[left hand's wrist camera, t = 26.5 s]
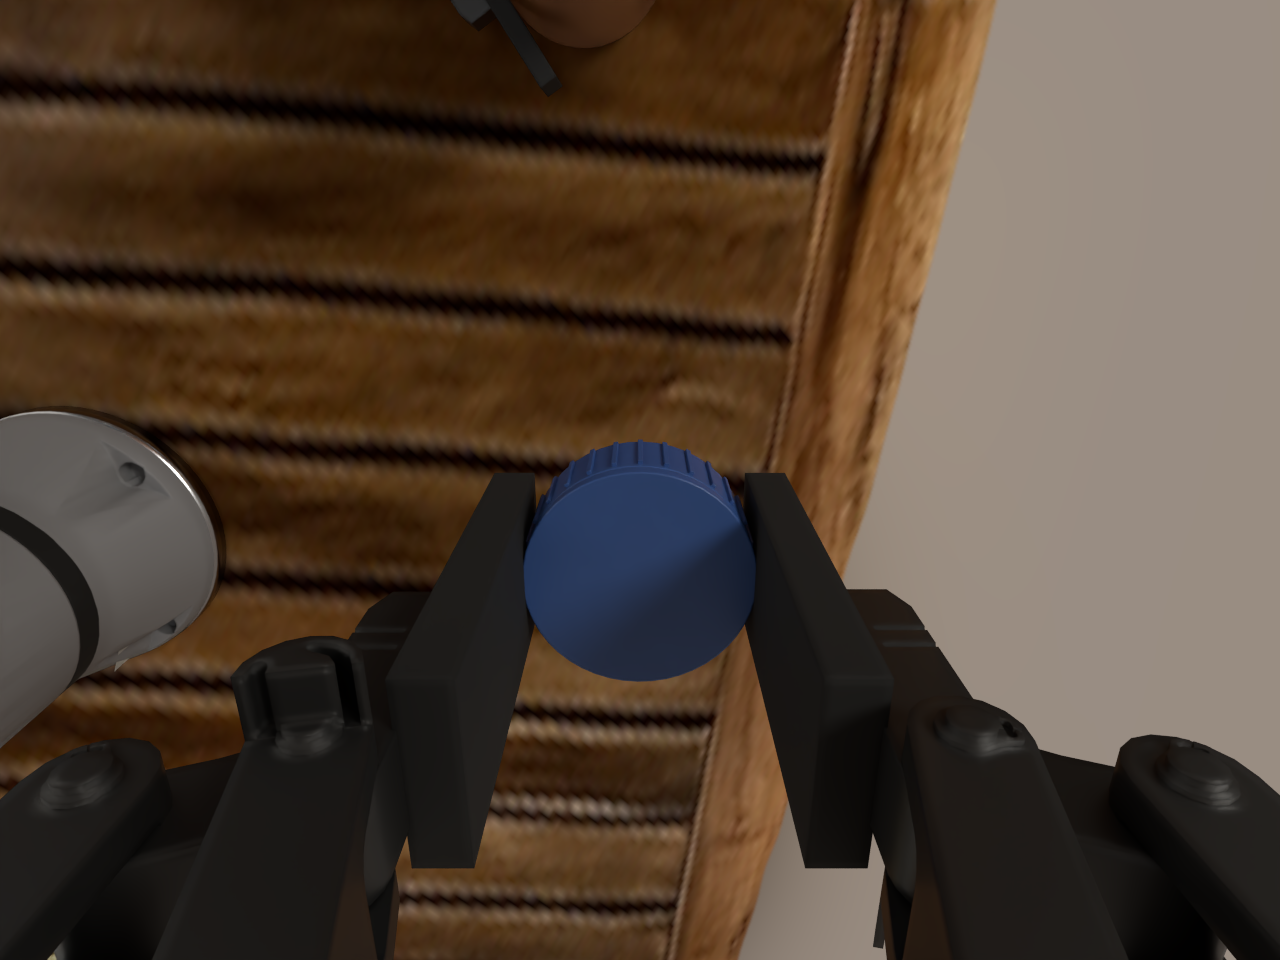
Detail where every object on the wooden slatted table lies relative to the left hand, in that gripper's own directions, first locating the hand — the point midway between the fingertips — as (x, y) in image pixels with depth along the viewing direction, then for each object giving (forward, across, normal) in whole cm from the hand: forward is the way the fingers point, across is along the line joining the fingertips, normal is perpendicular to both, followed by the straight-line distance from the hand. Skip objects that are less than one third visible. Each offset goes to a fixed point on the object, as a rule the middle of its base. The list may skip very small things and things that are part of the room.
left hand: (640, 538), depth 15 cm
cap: (-1, 0, 0) cm, 1 cm away
